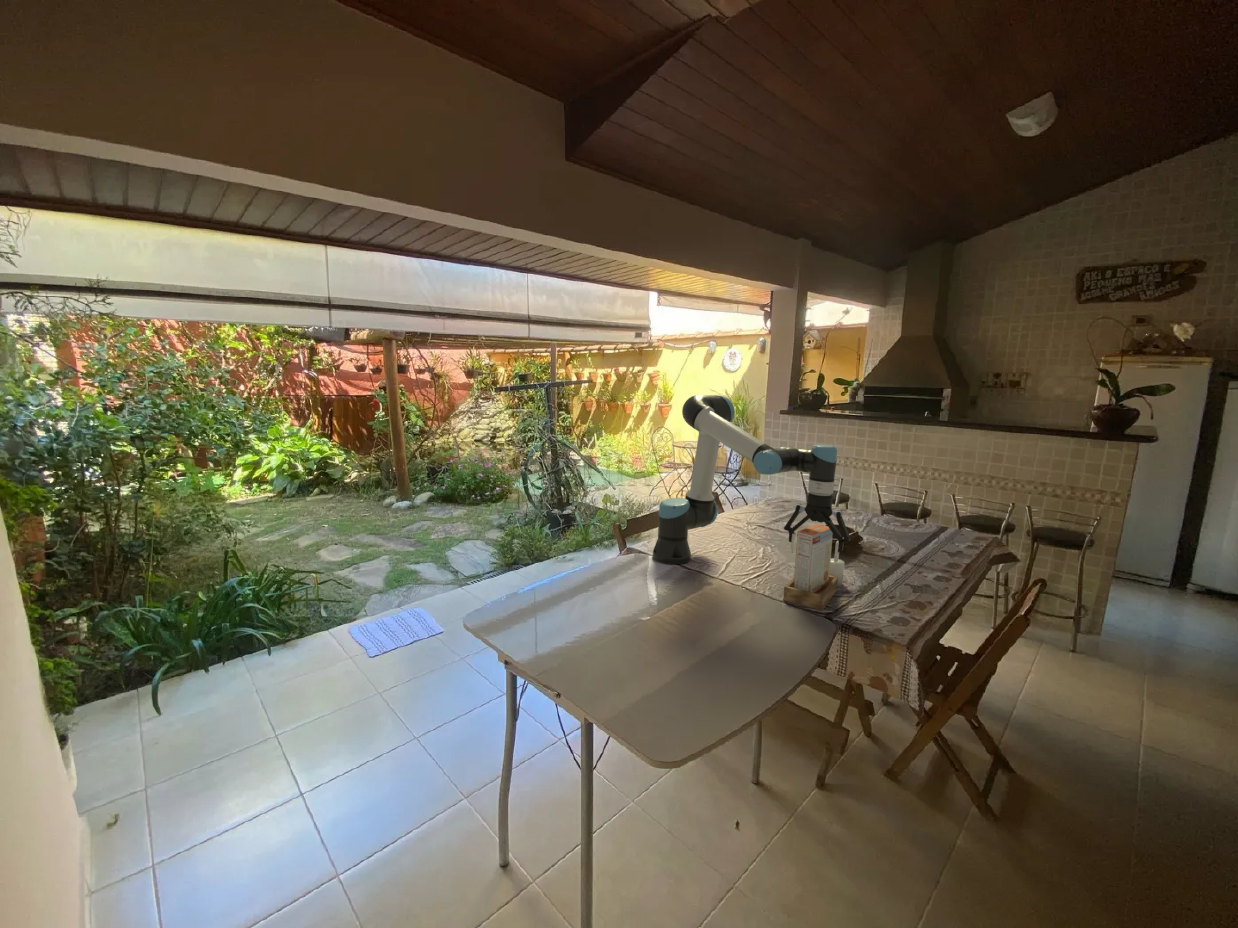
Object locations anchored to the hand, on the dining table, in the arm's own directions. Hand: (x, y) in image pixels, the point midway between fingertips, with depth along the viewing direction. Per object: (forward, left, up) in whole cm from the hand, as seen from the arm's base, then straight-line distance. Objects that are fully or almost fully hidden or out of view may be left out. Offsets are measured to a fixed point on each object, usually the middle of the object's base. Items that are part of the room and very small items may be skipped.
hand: (813, 556), depth 159 cm
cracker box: (0, +1, -12) cm, 12 cm away
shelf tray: (0, 0, -13) cm, 13 cm away
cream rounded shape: (+4, +16, -13) cm, 21 cm away
